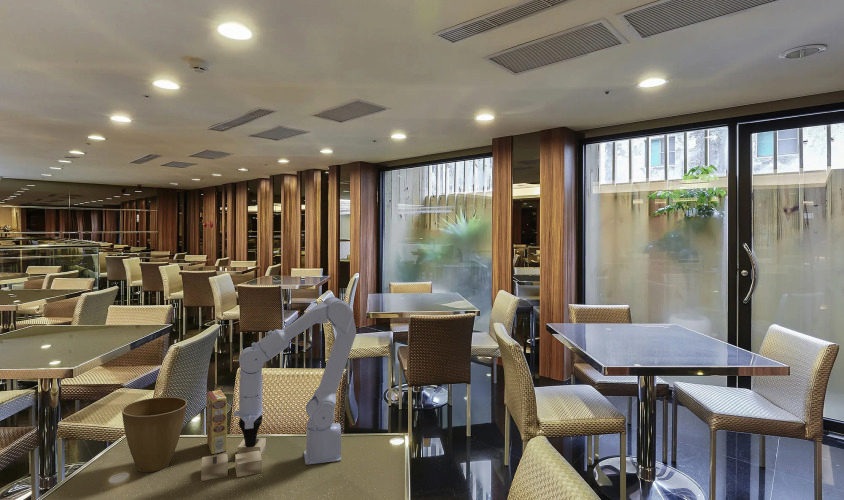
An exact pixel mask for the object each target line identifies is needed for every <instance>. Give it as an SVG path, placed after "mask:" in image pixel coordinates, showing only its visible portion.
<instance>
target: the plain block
mask: <svg viewBox="0 0 844 500" xmlns="http://www.w3.org/2000/svg"><path fill="white" fill-rule="evenodd" d="M234 456H235V457H234V458H235V459H234V468H235V473H236V478H239V477H246V476H251V475H257V474H262V473H263V459H262V456H261V455H260V451H254V452H248V453H241V454H238V453H237V454H236V453H235V455H234Z"/></svg>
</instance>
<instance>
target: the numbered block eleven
mask: <svg viewBox="0 0 844 500" xmlns="http://www.w3.org/2000/svg"><path fill="white" fill-rule="evenodd" d="M266 440H267V438H266V437H257V438H256V443H255V446H254V447H246V445H245V440H244V438H243V439H242V441H241V442H240V444H238V446H237V454H241V453H248V452H254V451H260V455H261V457H262V456H263V454H264V452H265V451H266V447H267V446H266V444H267V443H266V442H267V441H266Z"/></svg>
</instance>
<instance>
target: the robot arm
mask: <svg viewBox="0 0 844 500" xmlns="http://www.w3.org/2000/svg"><path fill="white" fill-rule="evenodd" d="M329 322H330V323H331V324H332V326H333V328H334V330H335V332H336V336H335V339H334V342H333V345H332V347H331V350H330V353H329V357H328V359H327V362H326V365H325V368H324V371H323V374H322V375H321V380H320V382H319V386H318V387H317V388H316V390H315V391H314V393H313V395H312V397H311V398H310V399H309V400H308V401H307V403H306V406H305V413H306V414H307V416H308V417H309V418H308V421H307V423H306V434H305V435H306V437H305V438H306V441H305V442H306V443H305V444H306V447H305V448H306V449H305V450H304V451H303V457H304V462H305V463H304V464H305V465H316V464H324V463H331V462H332V463H333V462H340V461H342V428H341V424H340V423H339V422H336V423H335V422H334V421H335V418H336V414H335V408H336V405H337V391H338V388H339V385H340V383H341V379H342V377H343V375H344V371H345V368H346V365H347V362H348V359H349V357H350V353H351V351H352V348H353V345H354V342H355V338H356V335H357V328H356V322H355V319H354V310H353V309H352V308H351V306H350V305H349V304H348V303H347V302H346V301H344V300H341V299H340V298H338V297H336V296H335V297H334V296H331V297H327V298H325V300H324V301H323V302H322V301H321V302H319V303H317V304H316V305H314V306H313V307H312V308H311V309H309V310H307V311H306V312H305V313H304V314H302V315H301V316H300V317H299V318H297V319H296V320H294V321H293V322H292V323H291V324H289V325H288V326H286V327H285V328H284V329H277V328H276V329H274V330H273V331H272V330H269V331H268V332H266V333H267V335H266V336H264V337H263V338H261V339H259V340H258V341H257V342H254V341H253V342H252V343H251V346H249V347H246V348H244V349H242V351H241V352H240V354H239V357H238V362H239V367H240V370H239V380H238V381H239V385H238V387H239V388H238V389H239V390H238V393H239V396H238V397H239V398H238V408H239V409H238V410H236V411H234V414H233V416H234V417H239V420H238V427H239V428H240V429H241V432H242V434H243V439H244V440H245V445H246V447H254V446H255V443H256V438H258V437H257V436H258V431H259V430H260V429H259V428H260V427H261V425H262V423H263V414H264V408H263V386H264V385H263V384H264V381H263V378H264V377H263V375H262V374H263V372H262V371H263V368H264V366H265V362H269V361H270V360H271V359H273V358H274V357H276V356H277V355H278V354H280V353H281V352H283V351H284V350H286V349H287V348H288V347H289V345H290V341H291V340H292V339H293V338H295V337H297V336H298V335H301V333H303V332H305V331H306V330H308V329H309V328H311V327H312V326H314V325H316V324H329Z"/></svg>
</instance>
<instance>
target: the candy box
mask: <svg viewBox="0 0 844 500" xmlns="http://www.w3.org/2000/svg"><path fill="white" fill-rule="evenodd" d="M227 399H228V398H227V396H226V395H225V393H224V392H223V391H222V390H221V389H218V390H212V391H211V390H210V391H207V393H206V403H207V404H206V425H207V426H206V428H207V431H206V432H207V433H206V434H207V435H206V438H207V440H206V441H207V442H206V444H207V446H208V449H209V451H210V453H211V455H215V454H219V453H225V452H227V449H228V448H227V447H228V443H227V442H228V441H227V439H228V438H227V437H228V436H227V434H228V427H227V424H228V413H227V412H228V401H227Z"/></svg>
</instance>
